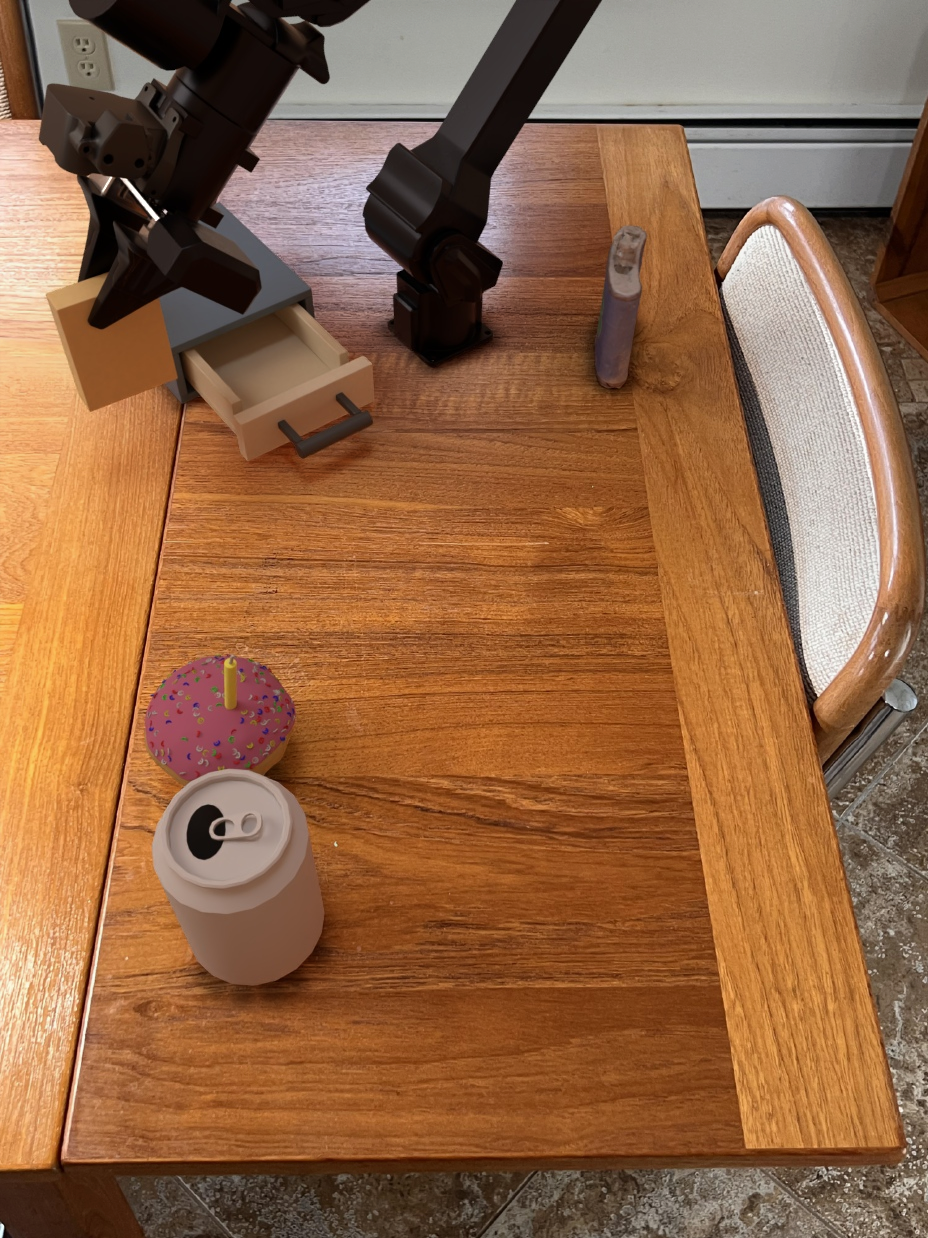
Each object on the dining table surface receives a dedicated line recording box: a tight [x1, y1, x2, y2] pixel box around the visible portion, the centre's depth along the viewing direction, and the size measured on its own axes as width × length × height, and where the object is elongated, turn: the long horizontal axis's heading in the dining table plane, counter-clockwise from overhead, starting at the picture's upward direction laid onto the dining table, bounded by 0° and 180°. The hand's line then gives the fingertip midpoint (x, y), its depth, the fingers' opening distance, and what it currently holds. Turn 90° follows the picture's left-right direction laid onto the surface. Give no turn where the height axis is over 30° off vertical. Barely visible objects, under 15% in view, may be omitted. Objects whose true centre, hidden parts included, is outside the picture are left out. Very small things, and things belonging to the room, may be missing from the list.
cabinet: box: [159, 201, 316, 405], centre depth 93 cm, size 14×12×5 cm
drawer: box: [179, 302, 375, 462], centre depth 87 cm, size 17×11×4 cm, turn 37°
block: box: [45, 272, 178, 413], centre depth 76 cm, size 6×2×8 cm, turn 123°
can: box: [151, 769, 325, 987], centre depth 59 cm, size 8×8×12 cm
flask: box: [593, 224, 648, 389], centre depth 89 cm, size 9×3×11 cm, turn 172°
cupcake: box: [144, 653, 297, 787], centre depth 65 cm, size 9×8×12 cm
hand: (87, 316), depth 74 cm, fingers closed on block, 2 cm apart
